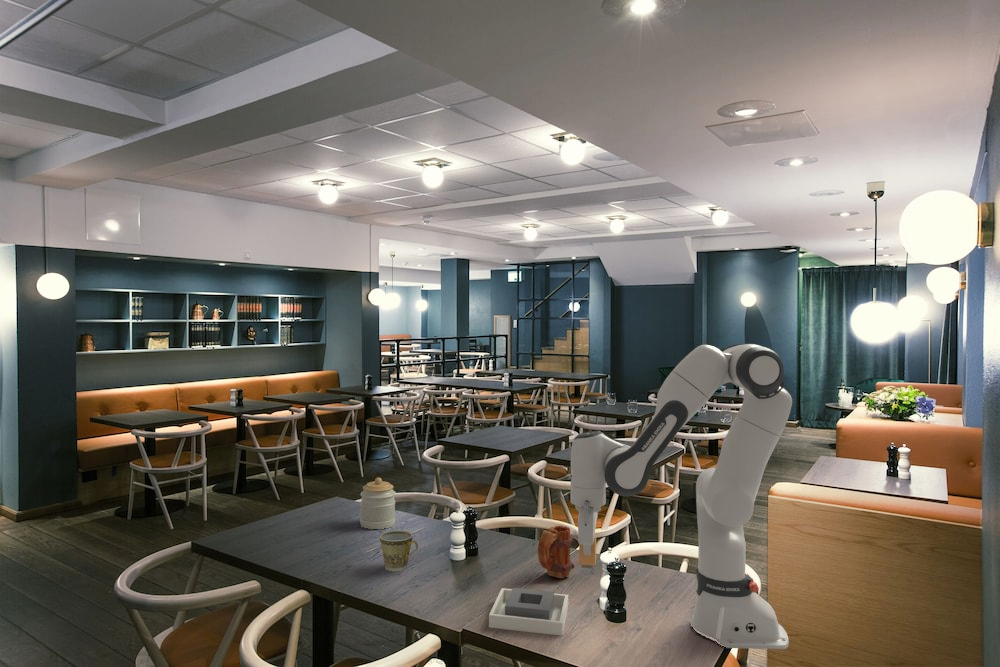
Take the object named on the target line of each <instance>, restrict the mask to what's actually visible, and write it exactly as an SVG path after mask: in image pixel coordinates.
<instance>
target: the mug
mask: <svg viewBox="0 0 1000 667" xmlns="http://www.w3.org/2000/svg"><path fill="white" fill-rule="evenodd" d="M548 530H549V531H547V530H544V531H542V533H541V536H540V537H539V541H538V547H537V554H538V556H537V557H538V560H539V563H540V565H541V567H542V568H543V569H546V572H547V575H548V576H550V577H552V578H555V577H556V579H565V578H564V577H567V576H568V577H569V576H570V571H572V570H573V569H575V564H574V563H573V562H572V561H571V546H572V545H573V544H574V543H575V540H574V539H573V537H572V536H571V529H570V527H568V526H567V525H566V526H565V525H555V526H551V527H550V528H549V529H548ZM568 577H567V578H568Z"/></svg>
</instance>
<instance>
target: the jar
mask: <svg viewBox="0 0 1000 667" xmlns="http://www.w3.org/2000/svg"><path fill="white" fill-rule="evenodd" d="M362 489H363V491H361V492H360V496H361V500H360V503H359V504H360V518H359V523H360V527H361V528H363V527H364V528H363V529H366V528H368V529H367V530H373V529H378V530H385V529H384V528H386V529H388V528H389V529H390V528H391V526H392V527H393V526H394V525H395V523H396V512H395V511H396V500H395V495H396V491H395V490H394V485H393V484H391V483H390V482H389V481H386V480H385V481H383V479H382V478H381V477H376V478H375V479H374V481H369V482H367V483H366V484H365V485H363V486H362Z"/></svg>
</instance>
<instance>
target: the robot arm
mask: <svg viewBox="0 0 1000 667" xmlns="http://www.w3.org/2000/svg"><path fill="white" fill-rule="evenodd" d="M784 368H785V367H784V364H783V360H782V358H781V357H780V356H779V355H778V353H777V352H776V351H774V350H773V349H771V348H768V347H765V346H762V345H759V344H754V343H736V344H733V345H729V346H728V347H725V348H722V349H719V348H718V347H716V346H713V345H709V344H701V345H699V346H697V347H695V348H694V349H693V350H691V351H690V352H689V353H688V354H687V355H686V356H685V357H684V358H683V359H682V360H680V362H679V363H678V364H677V365H676V366H675V367H674V368H673V369H672V371H671V372H670V373H669V375H668V376H667V377H666V378H665V380H664V381H663V383H662V384H661V386H660V389H659V390H658V392H657V397H656V407H655V412H654V413H653V416H652V419H651V420H650V422H649V423H648V425H647V426H646V427H645V429H644V430H642V432H641V433H640V434H639V436H638V438H637V439H636V440H635V442H633V443H632V445H627V444H624V443H621V442H618V441H616V440H614V439H612V438H610V437H609V436H607V435H605V433H603V432H602V431H598V430H593V431H586V432H581V433H579V434H577V435H576V436H575V437H574V438H573V441H572V443H571V447H570V448H571V450H570V469H571V479H570V503H571V504H572V505H574V506H575V510H576V511H578V516H577V517H578V520H577V521H578V522H577V523H578V524H577V542H578V544H583V551H584V555H591V545H592V544H593V542H594V535H595V533H596V527H597V522H598V515H599V512H601V510H602V508H601V507H602V506H604V505H606V504H607V502H606V500H607V497H606V496H607V494H606V493H607V492H606V489H607V487H608V489H610V490H611V492H613V493H615V495H616V494H617V495H618V496H621V497H634V496H636V495H638V494H640V493H642V491H643V490H645V488H646V486H647V484H648V482H649V478H650V475H651V470H652V468H653V466H654V465H655V463H656V462H657V460H658V459H659V457H660V456H661V454H662V453H663V452H664V450H666V448H667V447H668V445H669V444H670V443H671V441H672V440H673V439H674V438H675V436H676V435H677V434H678V432H680V430H681V429H682V428H683V427H684V426H685V425H686V424H687V423H688V422H689V421H690V420H691V418H693V417H694V416H695V415H696V414H697V413H698V412H699V411H700V410H701V409H702V408H703V406H705V404H706V403H707V402H708V400H710V399H711V397H712V396H713V395H714V394H715V393H716V390H718V389H719V388H721V387H722V386H723V385H726V384H727V383H730V384H732V385H735V386H736V387H738V388H741V389H742V390H743V401H742V404H741V407H740V408H739V410H738V411H737V414H736V416H735V418H734V419H733V421H732V424H731V425H730V428H729V429H728V432H727V433H726V436H725V437H724V440H723V441H722V444H721V450H720V453H719V457H718V460H717V463H716V466H715V467H708V468H706V469H704V470H703V471H702V472H700V474H698V477H697V480H696V485H695V492H696V493H695V494H696V495H695V496H696V500H695V501H696V519H697V533H698V534H697V535H698V557H697V558H698V561H697V563H698V566H697V568H696V570H695V571H696V572H695V591H696V598H695V603H694V604H695V605H694V609H693V613H692V617H691V620H690V622H691V624H692V626H693V627H694V628H695V629H696V630H697V631H699V632H701V633H703V634H705V635H707V636H709V637H712V638H714V639H716V640H717V641H718V642H720V644H722V645H724V646H725V647H726V648H725V649H751V650H752V649H754V650H755V649H757V650H762V649H763V650H786V649H787V648H788V646H789V636H788V633H787V631H786V630H785V628H784V627H783V626H782V624H780V623H779V622H778V618H777V614H776V611H775V610H774V609H773V607H772V605H771V604H770V603H769V602H768V601H766V600H765V599H764V598H762V597H761V596H760V595H759V594H758V592H759V590H760V588H759V586H758V584H757V582H755V580H754V579H753V578H752V577H751V575H750V574H748V573H746V549H747V548H746V547H747V546H746V543H747V542H746V540H745V534H744V533H745V532H744V525H746V524H747V523H748V522H749V521H750V520H751V518H752V516H753V514H754V507H755V501H756V498H757V495H758V493H759V492H758V491H759V489H760V487H761V486H760V485H761V482H762V479H763V475H764V473H765V469H766V467H767V465H768V462H769V460H770V457H771V456H772V453H773V452H774V450H775V448H776V446H777V444H778V442H779V440H780V438H781V436H782V434H783V432H784V430H785V427H786V425H787V422H788V420H789V417H790V413H791V411H792V406H793V398H792V395H791V394H790V393H789V392H788V390H786V388H784V371H785V369H784Z"/></svg>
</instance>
